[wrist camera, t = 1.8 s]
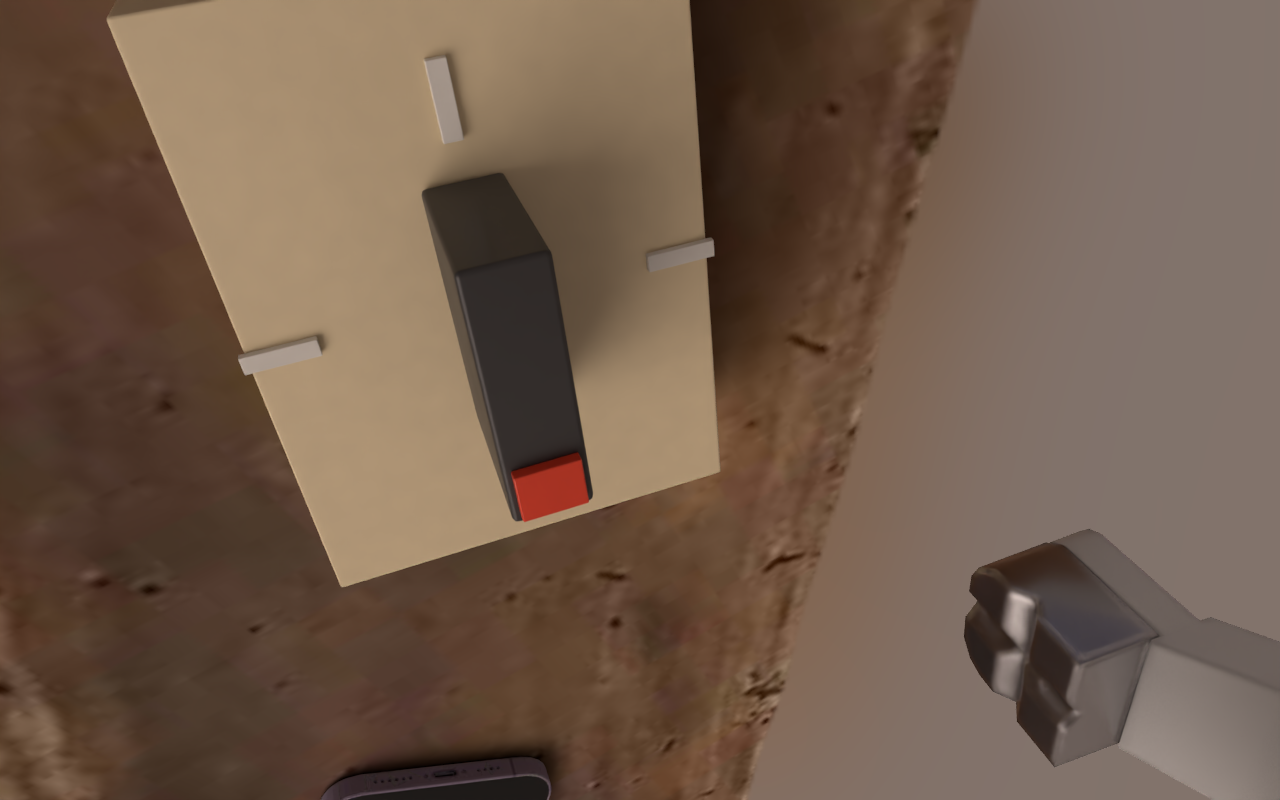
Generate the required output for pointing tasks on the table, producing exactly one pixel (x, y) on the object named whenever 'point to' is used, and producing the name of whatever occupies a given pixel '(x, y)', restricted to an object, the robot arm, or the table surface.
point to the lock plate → (403, 246)
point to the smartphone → (451, 782)
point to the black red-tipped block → (511, 342)
